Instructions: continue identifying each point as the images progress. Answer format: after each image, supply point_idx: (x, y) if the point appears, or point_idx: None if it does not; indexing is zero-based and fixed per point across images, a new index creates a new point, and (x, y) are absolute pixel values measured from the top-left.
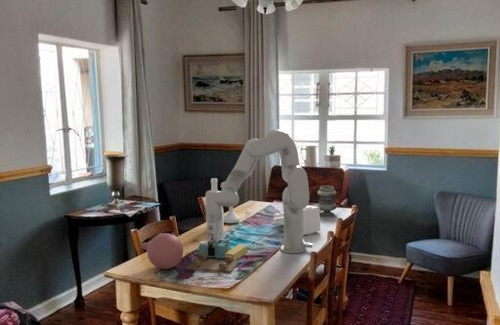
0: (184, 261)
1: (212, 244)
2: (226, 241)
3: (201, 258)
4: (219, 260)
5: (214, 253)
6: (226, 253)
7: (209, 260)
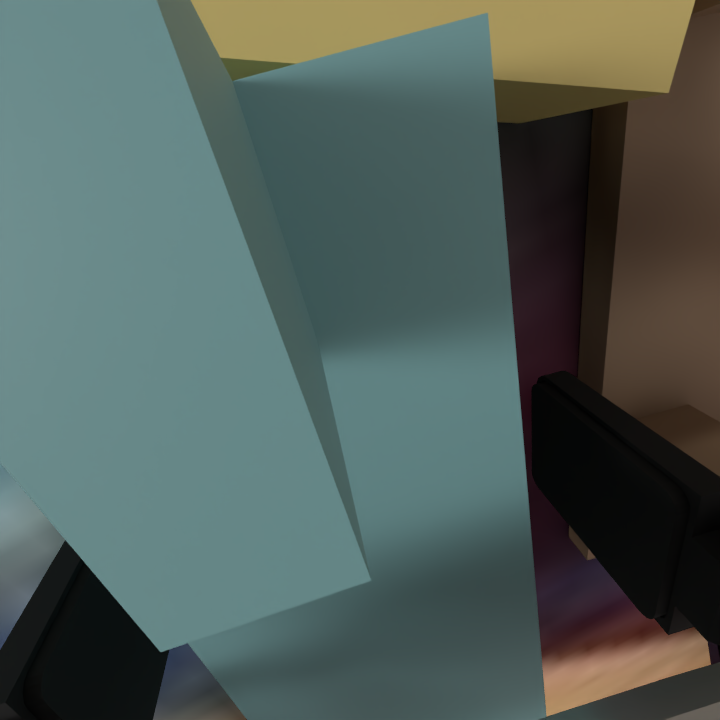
0: (617, 597)
1: (430, 681)
2: (295, 338)
3: None
4: (656, 191)
5: (595, 396)
6: (691, 9)
7: (662, 363)
